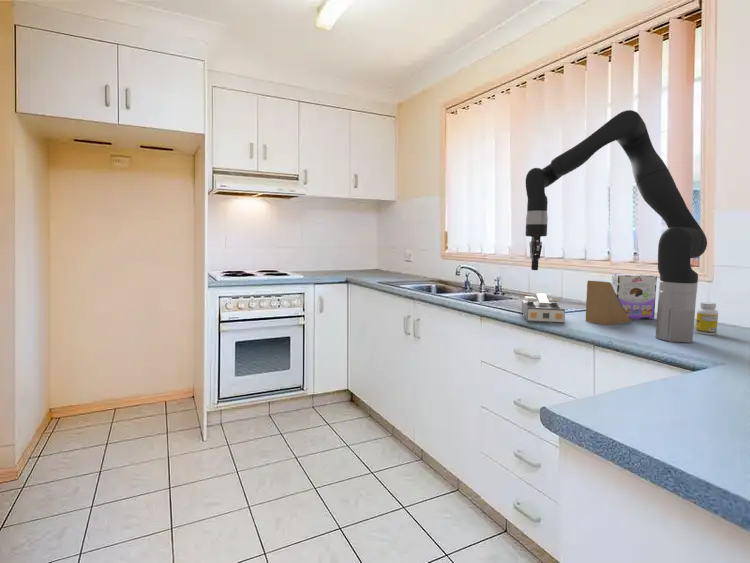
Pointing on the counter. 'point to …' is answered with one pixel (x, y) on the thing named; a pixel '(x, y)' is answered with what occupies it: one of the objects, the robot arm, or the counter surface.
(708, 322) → the supplement bottle
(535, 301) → the block
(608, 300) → the sandwich container
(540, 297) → the rocker middle
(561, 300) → the rocker right
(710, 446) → the counter surface
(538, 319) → the switch unit
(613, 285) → the candy box
